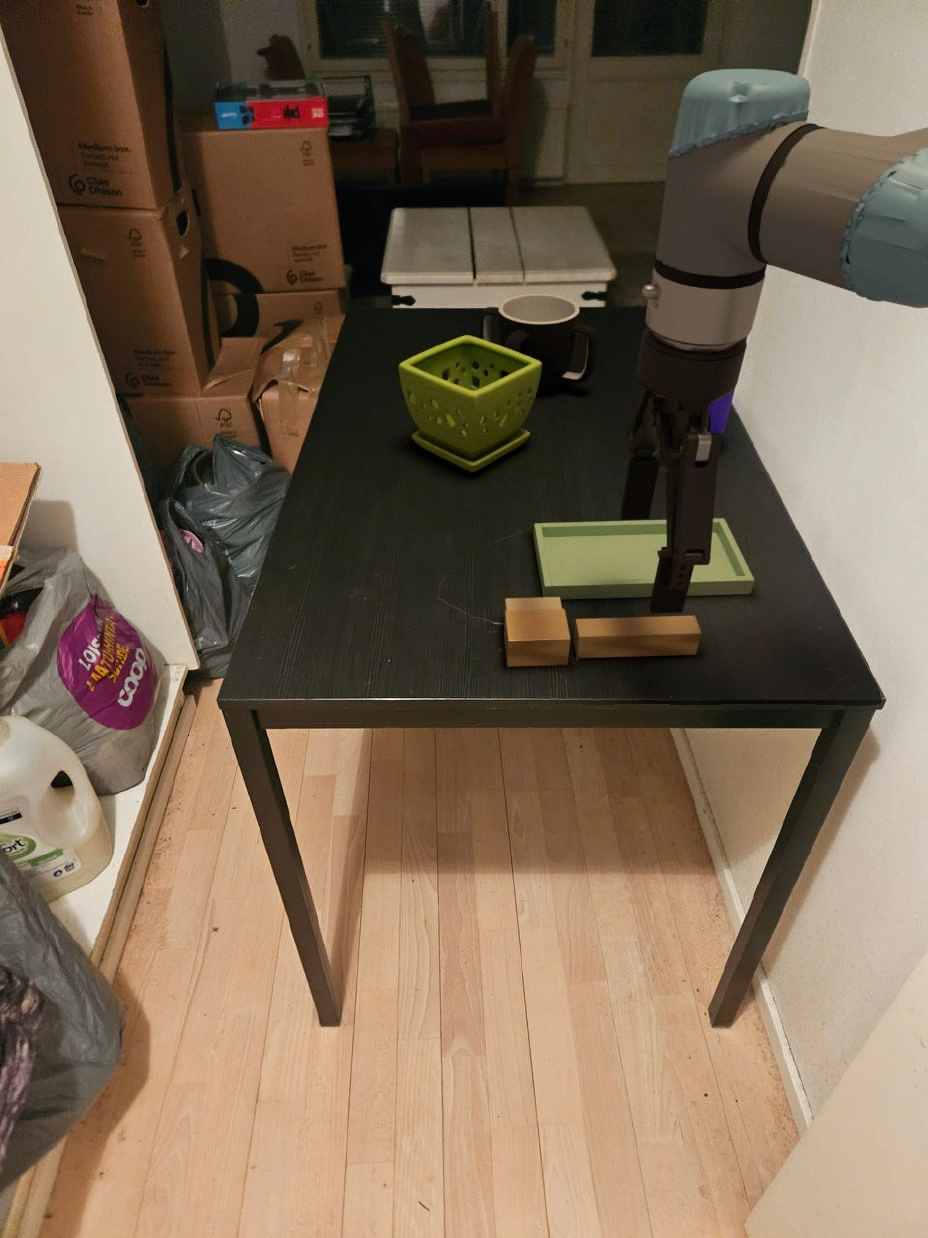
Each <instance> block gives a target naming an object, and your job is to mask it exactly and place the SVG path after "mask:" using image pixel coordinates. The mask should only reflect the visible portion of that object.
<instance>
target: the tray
mask: <svg viewBox="0 0 928 1238" xmlns="http://www.w3.org/2000/svg"><path fill="white" fill-rule="evenodd" d="M533 542H534V549H535V555H536V561H537V567H538V572H539V573H538V574H539V579H540V586H541V591H542V597H560V601H562V600H591V599H625V598H628V599H629V598H651V595H652V590H653V585H654V581H655V576H656V571H657V567H658V562H659V557H658V554H657V551H658V550H661V548H662V547H667V529H666V519H639V520H610V521H609V520H606V521H605V520H604V521H572V522H571V521H570V522H567V521H566V522H541V523H539V522H538V523H536V522H535V523H533ZM754 584H755V578H754V576H753V574H752V571H751V570H750V568H749V565H748V563H747V561H746V560H745V557H744V556H743V553H742V551H741V549H740V547H739V545H738V543H737V541H736V539H735V537H734V535H733V533H732V531H731V529H730V527H729V525H728V522H727V521H726V519H725V518H724V517H722V518H717V517H716V518H714V517H713V528H712V542H711V559H710V563H709V564H708V565H694V569H693V572H692V576H691V580H690V584H689V588H688V592H687V596H686V597H695V596H700V597H701V596H728V595H731V596H732V595H751V594H752V591H753V587H754Z"/></svg>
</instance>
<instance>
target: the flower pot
mask: <svg viewBox="0 0 928 1238" xmlns="http://www.w3.org/2000/svg"><path fill="white" fill-rule="evenodd" d="M475 362H476V363H477V364H479V365H478V368H477V369H476V368H474V367H473V364H474V363H475ZM492 365H493V366H492ZM541 369H542V363H541V362H540V361H538V360H536V359H534V358H531V357H529V356H526V355H524V354H521V353H518V352H516V351H513V350H511V349H508V348H505V347H502V346H499V344H496V343H494V342H492V341H491V342H488V341H485V340H482V339H480V337H476V336H473V335H469V334H465V335H463V336H459V337H456V338H453V339H451V340H449V341H446V342H444V343H442V344H438V345H436V346H433V347H432V348H428V349H427V350H425V351H423V352H419V353H418V354H416V355H413V356H411V357H409V358H407V359H405V360H403V361H402V362H400V363H399V365H398V374H399V381H400V385H401V389H402V390H401V391H402V392H403V393H402V394H403V397H404V401H405V403H406V407H407V409H408V411H409V415H410V416H411V417H412V418H411V419H413V422H414V424H415V425H416V426H417V428H418V430H417V431H415V432H414V433H412V434H411V438H412V440H413V441H414V442H415V443H416V444H417V445H418V446H419V447H421V448H423V449H425V450H426V451H428V452H430V453H432V454H434V455H435V456H438V457H440V458H442V459H443V460H446V461H448V462H450V463H452V464H454V465H455V466H458V467H459V468H461V469H464V470H466V471H468V472H471V473H475V472H477V471H478V470H479V471H480V469H483V468H485V467H486V466H488V465H489V464H491V463H493V462H494V461H496V460H497V459H500V458H503V456H505V455H507V454H509V453H510V452H512V451H514V450H516V449H518V448H519V447H520V446H522V445H523V444H524V443H525V442H526V441H527V440H528V439H529V437H530V435H531V433H530V432H529V431H528V430H526V429H524V428H522V426H523V424H524V423H525V421H526V419H527V418H528V415H529V414H530V412H531V409H532V407H533V404H534V402H535V399H536V397H537V394H536V393H537V389H538V385H539V381H540V376H541ZM503 371H506V372H508V373H509V375H508V376H506V377H504V376H503V377H502V372H503ZM444 372H447V376H448V377H447V378H448V379H447V380H446V379H443V373H444ZM486 372H487V375H486ZM474 378H476V379H478V380H479V384H478V387H477V386H475V385H473V384H474ZM455 380H457V383H455Z"/></svg>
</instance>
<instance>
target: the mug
mask: <svg viewBox="0 0 928 1238" xmlns="http://www.w3.org/2000/svg"><path fill="white" fill-rule="evenodd" d="M580 311H581V310H580V306H579V305H578V304H577V303H576V302H575V301H573V300H571V299H569V298H567V297H564V296H561V295H557V294H549V293H525V294H520V295H515V296H512V297H509V298H507V299H505V300H503V301H501V302H500V304H499V305H498V307H495V306H487V307H486V308H484V309H483V310H482V311H481V314H480V317H479V339H482V340H485V341H488V342H491V343H492V338H491V336H492V335H491V330H492V329H491V328H492V327H491V325H492V317H496V318H497V334H498V345H499V346H502V347H505V348H508V349H511V350H513V351H516V352H518V353H521V354H524V355H526V356H529V357H531V358H534V359H536V360H538V361H540V362H541V363H542V369H541V376H540V381H539V385H538V389H537V393H536V395H542V394H543V395H544V394H549V393H552V392H554V391H557V390H558V389H560V388H561V387H562V386H563V385H564V383H565V382H568V383H573V384H582V383H584V382H586V381H587V380H589V379H590V377H591V376H592V374H593V372H594V370H595V368H596V366H597V365H596V364H597V359H598V353H599V344H600V343H599V342H600V341H599V340H600V338H599V337H600V336H599V333H598V331H597V329H596V328H595V327H592V326H589V325H586V324H583V323H580V314H581V313H580ZM578 334H579V335H583V336H586V340H587V345H586V355H585V363H584V367H583V370H582V371H581V372H573V371H570V367H571V364H572V360H573V356H574V351H575V348H576V342H577V336H578ZM502 374H503V378H504V377H506V376H508V375H509V373H508V372H506V371H503V370H502Z"/></svg>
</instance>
